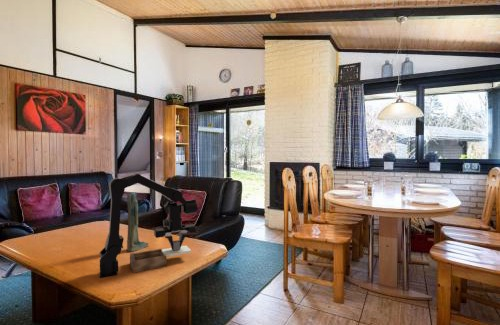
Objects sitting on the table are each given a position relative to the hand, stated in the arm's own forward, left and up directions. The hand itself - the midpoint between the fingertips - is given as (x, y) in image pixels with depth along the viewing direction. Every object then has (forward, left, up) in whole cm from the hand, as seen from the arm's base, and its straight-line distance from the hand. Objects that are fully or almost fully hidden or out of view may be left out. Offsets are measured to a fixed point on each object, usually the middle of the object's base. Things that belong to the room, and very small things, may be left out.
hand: (176, 248), depth 134 cm
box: (-13, 0, -5) cm, 14 cm away
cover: (0, 0, -2) cm, 2 cm away
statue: (-15, +28, -5) cm, 32 cm away
